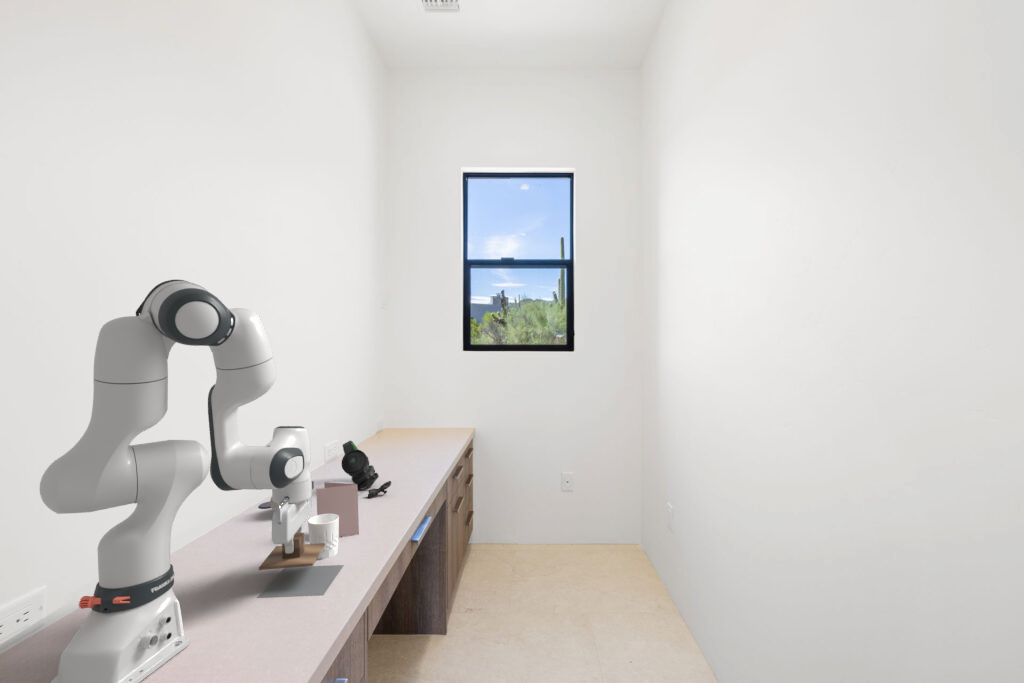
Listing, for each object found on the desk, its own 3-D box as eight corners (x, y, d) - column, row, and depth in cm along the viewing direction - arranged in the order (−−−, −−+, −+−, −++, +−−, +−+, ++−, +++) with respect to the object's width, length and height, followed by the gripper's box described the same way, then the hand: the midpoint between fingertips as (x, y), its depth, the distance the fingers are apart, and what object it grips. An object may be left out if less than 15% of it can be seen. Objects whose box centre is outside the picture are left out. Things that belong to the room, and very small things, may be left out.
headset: (367, 518, 188) (350, 467, 210) (401, 498, 192) (380, 450, 214) (347, 490, 177) (331, 439, 199) (383, 470, 181) (363, 422, 203)
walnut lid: (312, 565, 118) (312, 544, 118) (258, 570, 117) (258, 548, 117) (325, 545, 130) (324, 525, 130) (276, 548, 128) (275, 528, 128)
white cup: (329, 562, 132) (328, 524, 132) (302, 561, 133) (301, 523, 133) (345, 550, 139) (344, 514, 139) (319, 548, 141) (318, 512, 141)
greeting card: (360, 533, 151) (359, 483, 151) (346, 543, 144) (344, 490, 144) (327, 530, 154) (326, 481, 154) (311, 539, 147) (310, 488, 147)
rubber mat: (323, 597, 114) (323, 595, 114) (256, 599, 114) (256, 597, 114) (344, 566, 129) (343, 564, 129) (284, 569, 129) (284, 567, 129)
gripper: (292, 504, 113) (294, 565, 113) (316, 479, 134) (317, 531, 134) (263, 505, 112) (264, 567, 113) (291, 480, 133) (292, 532, 133)
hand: (293, 547), depth 123 cm, fingers closed on walnut lid, 4 cm apart
